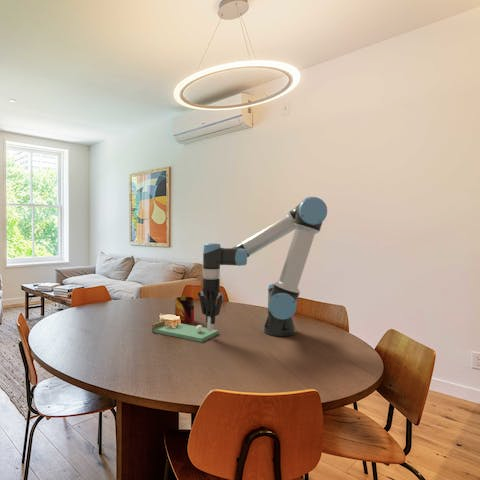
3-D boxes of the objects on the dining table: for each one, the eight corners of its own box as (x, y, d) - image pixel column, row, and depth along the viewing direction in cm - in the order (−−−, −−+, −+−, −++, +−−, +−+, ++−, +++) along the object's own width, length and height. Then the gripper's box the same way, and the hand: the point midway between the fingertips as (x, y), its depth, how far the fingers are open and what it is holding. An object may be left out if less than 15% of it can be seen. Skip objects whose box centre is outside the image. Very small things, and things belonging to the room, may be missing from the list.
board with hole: (218, 333, 159) (219, 326, 158) (201, 342, 146) (201, 333, 146) (171, 324, 172) (171, 317, 172) (152, 331, 159) (152, 324, 159)
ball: (204, 331, 156) (204, 324, 156) (200, 333, 153) (200, 326, 153) (198, 330, 157) (198, 323, 157) (194, 332, 154) (194, 325, 154)
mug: (192, 326, 170) (193, 302, 170) (170, 322, 177) (171, 299, 177) (203, 321, 179) (204, 298, 179) (182, 317, 185) (182, 296, 185)
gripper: (228, 278, 152) (227, 330, 153) (203, 275, 158) (202, 326, 159) (219, 280, 145) (218, 335, 146) (194, 277, 151) (193, 330, 152)
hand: (210, 330), depth 152 cm, fingers closed
